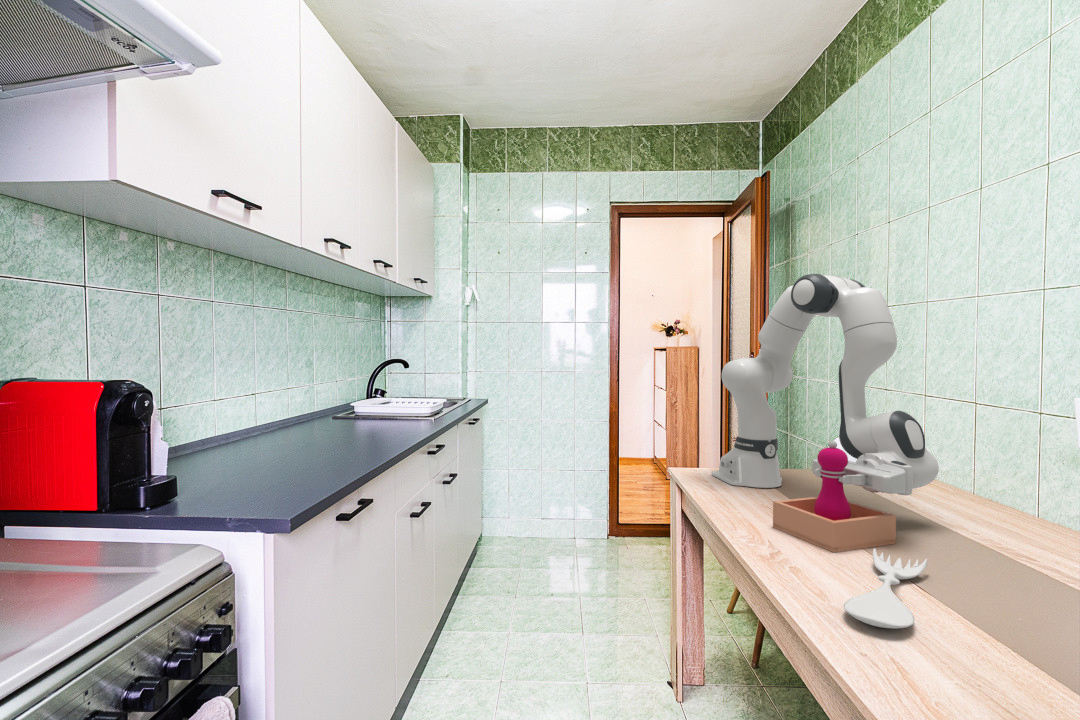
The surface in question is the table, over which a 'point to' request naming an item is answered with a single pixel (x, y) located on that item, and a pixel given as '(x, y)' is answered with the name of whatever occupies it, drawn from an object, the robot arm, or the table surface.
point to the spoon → (885, 596)
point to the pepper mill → (832, 484)
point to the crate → (835, 525)
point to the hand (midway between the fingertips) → (829, 476)
